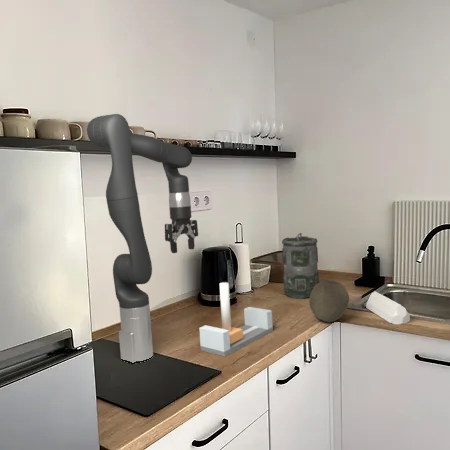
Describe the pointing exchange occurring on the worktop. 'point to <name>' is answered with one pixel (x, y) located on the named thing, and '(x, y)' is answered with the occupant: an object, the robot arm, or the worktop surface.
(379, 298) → the crystal
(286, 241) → the canister
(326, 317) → the cantaloupe
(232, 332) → the carriage
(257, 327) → the rail track
